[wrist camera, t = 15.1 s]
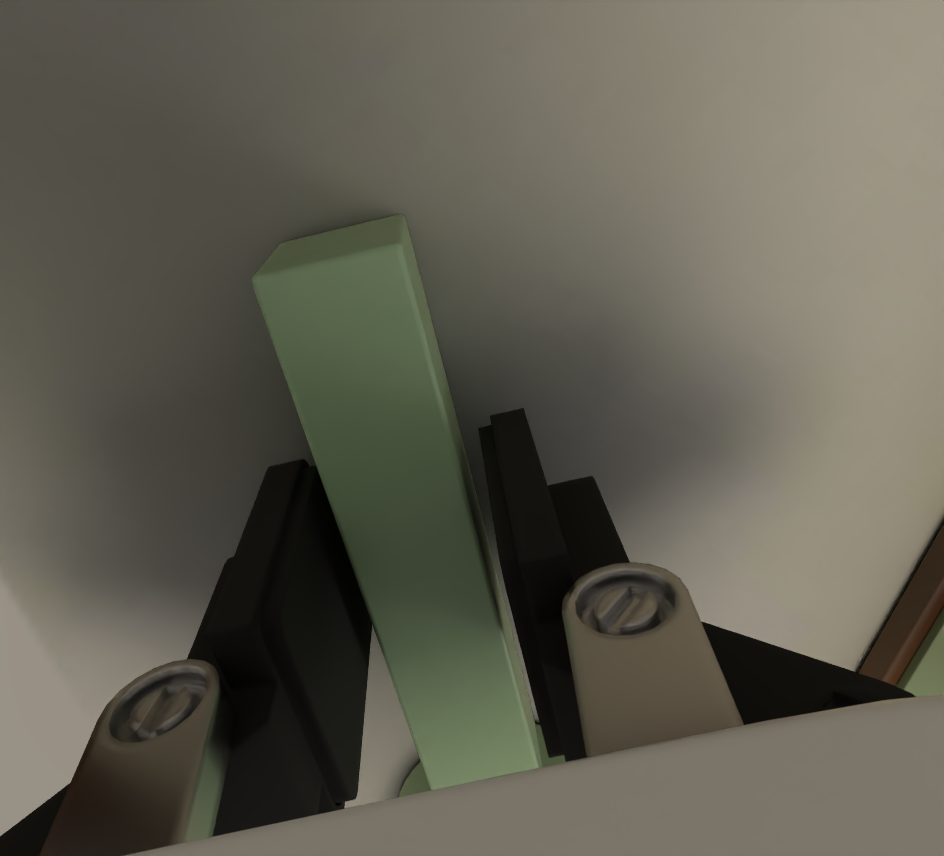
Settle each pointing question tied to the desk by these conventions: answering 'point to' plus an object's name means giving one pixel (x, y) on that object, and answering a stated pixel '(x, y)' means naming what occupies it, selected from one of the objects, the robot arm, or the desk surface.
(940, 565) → the board
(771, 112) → the desk surface
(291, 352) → the spoon sage
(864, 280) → the desk surface
